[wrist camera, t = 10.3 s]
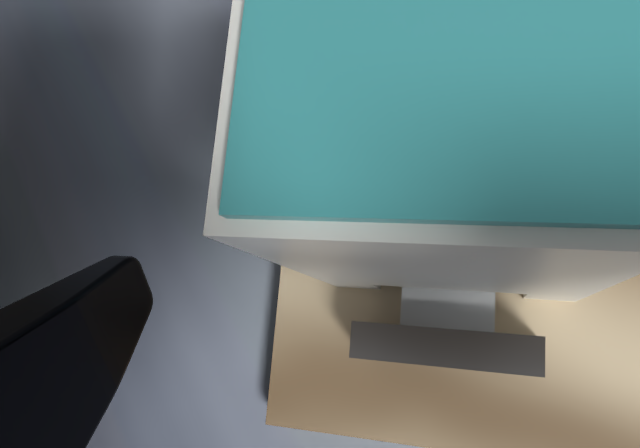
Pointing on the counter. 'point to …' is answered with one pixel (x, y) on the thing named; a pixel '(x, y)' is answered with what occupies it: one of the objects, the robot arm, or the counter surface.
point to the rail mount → (457, 366)
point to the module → (433, 143)
